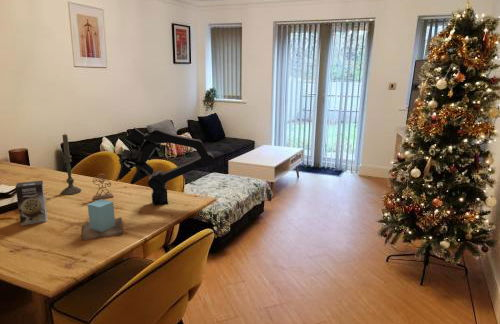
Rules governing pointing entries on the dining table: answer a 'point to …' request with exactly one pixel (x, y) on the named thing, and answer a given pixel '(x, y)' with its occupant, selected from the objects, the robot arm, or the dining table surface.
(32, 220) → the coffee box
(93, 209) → the light blue rectangular block
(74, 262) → the dining table surface
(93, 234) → the post board
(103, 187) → the brown scrollwork stand
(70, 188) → the candlestick holder
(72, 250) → the dining table surface
